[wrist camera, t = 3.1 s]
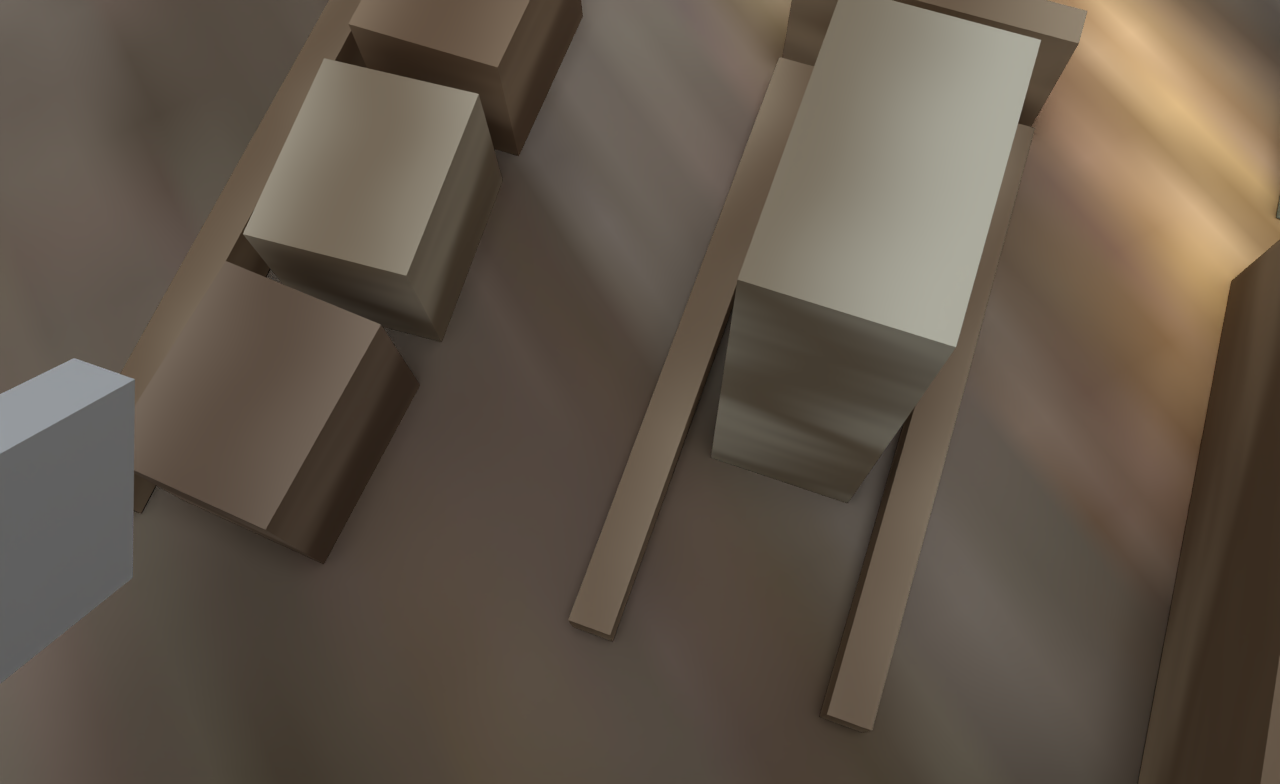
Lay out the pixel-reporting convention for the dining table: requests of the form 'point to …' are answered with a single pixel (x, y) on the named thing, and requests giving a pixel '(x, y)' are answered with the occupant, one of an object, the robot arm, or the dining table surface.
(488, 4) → the offcut block
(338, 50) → the oak rack
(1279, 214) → the green frame
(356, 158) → the offcut block
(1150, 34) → the dining table surface
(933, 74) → the tall beige block
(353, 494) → the offcut block
